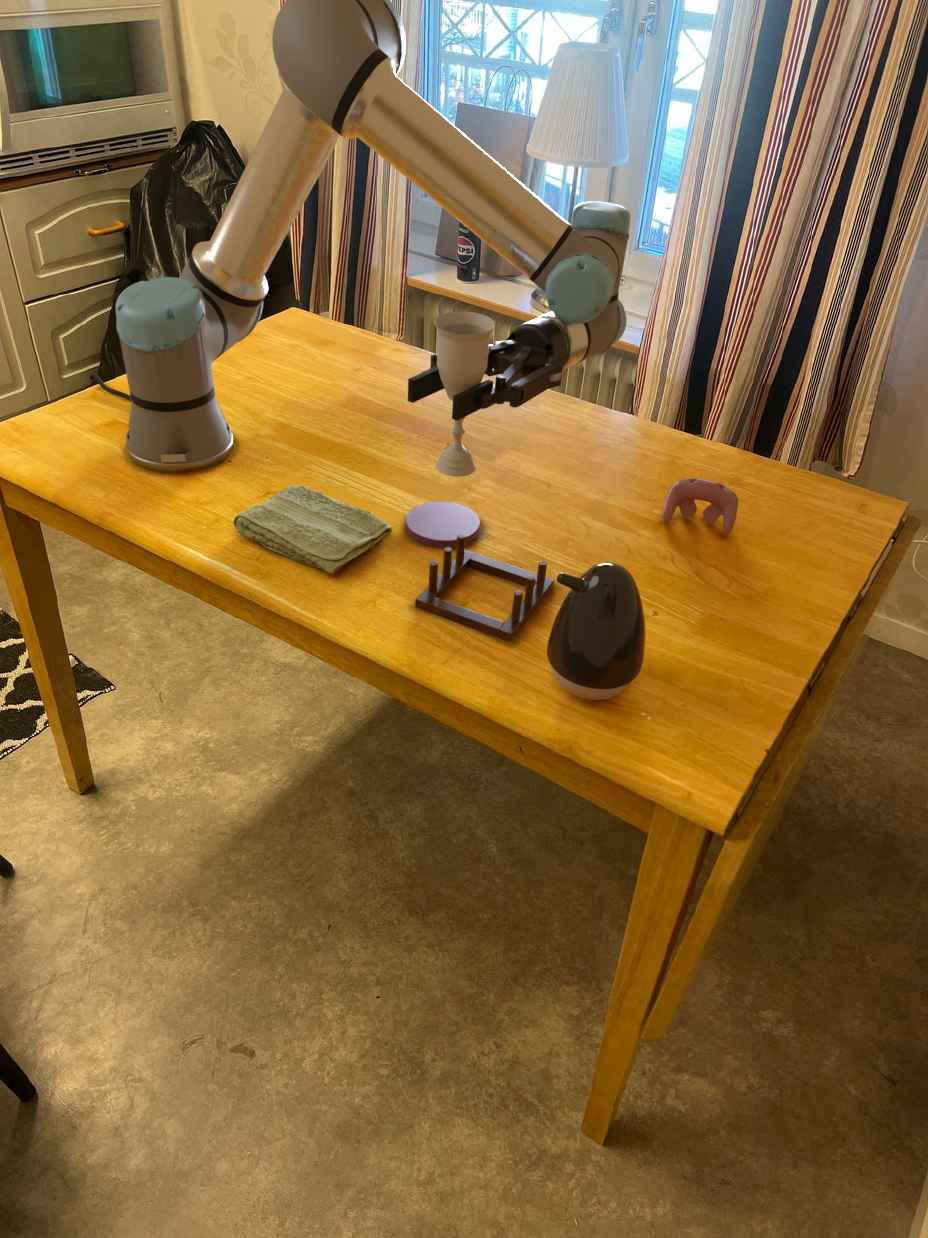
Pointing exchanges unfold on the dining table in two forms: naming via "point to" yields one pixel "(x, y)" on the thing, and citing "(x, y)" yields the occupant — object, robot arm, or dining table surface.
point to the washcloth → (312, 527)
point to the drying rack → (534, 582)
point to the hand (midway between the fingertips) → (432, 399)
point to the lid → (442, 524)
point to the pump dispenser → (598, 633)
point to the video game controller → (707, 491)
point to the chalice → (461, 375)
